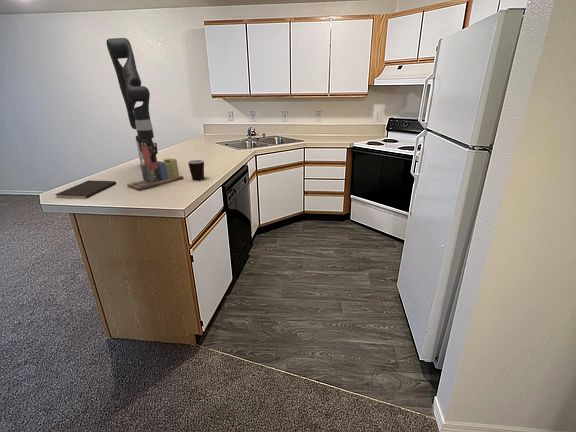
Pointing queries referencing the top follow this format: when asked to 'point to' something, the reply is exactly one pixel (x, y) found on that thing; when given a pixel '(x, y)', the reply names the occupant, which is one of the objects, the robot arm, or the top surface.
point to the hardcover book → (86, 189)
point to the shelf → (155, 183)
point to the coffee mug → (197, 169)
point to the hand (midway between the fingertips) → (150, 161)
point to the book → (148, 157)
